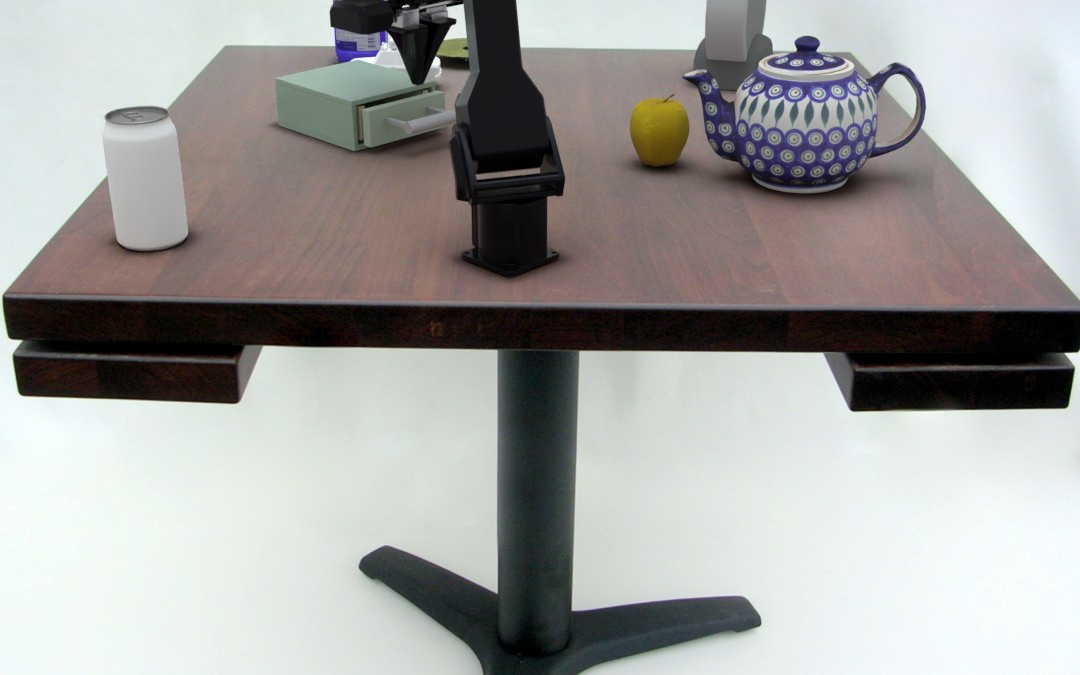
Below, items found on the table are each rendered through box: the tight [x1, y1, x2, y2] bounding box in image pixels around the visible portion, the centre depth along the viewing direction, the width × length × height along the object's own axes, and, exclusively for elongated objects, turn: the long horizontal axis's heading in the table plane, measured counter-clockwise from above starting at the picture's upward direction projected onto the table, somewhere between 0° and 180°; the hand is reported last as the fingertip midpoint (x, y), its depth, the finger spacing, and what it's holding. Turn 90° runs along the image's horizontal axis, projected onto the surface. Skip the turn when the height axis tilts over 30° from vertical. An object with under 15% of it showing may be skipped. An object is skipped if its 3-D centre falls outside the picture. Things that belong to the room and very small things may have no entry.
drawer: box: [356, 89, 456, 148], centre depth 155 cm, size 18×11×4 cm, turn 45°
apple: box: [629, 92, 690, 168], centre depth 145 cm, size 6×6×8 cm
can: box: [101, 105, 189, 252], centre depth 124 cm, size 6×6×12 cm
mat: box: [436, 37, 469, 62], centre depth 188 cm, size 11×11×2 cm
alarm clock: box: [692, 0, 774, 91], centre depth 176 cm, size 16×10×18 cm, turn 162°
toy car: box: [351, 36, 443, 81], centre depth 173 cm, size 6×12×7 cm, turn 91°
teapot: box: [681, 35, 927, 194], centre depth 140 cm, size 25×15×15 cm, turn 87°
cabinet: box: [274, 60, 437, 152], centre depth 158 cm, size 14×12×6 cm
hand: (417, 84), depth 149 cm, fingers closed
